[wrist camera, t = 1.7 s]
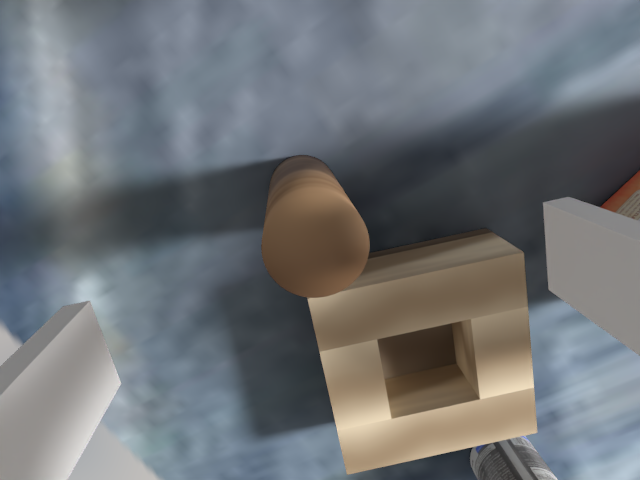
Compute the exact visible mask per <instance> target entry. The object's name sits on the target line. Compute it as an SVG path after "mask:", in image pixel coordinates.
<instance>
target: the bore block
mask: <svg viewBox="0 0 640 480" xmlns="http://www.w3.org/2000/svg"><path fill="white" fill-rule="evenodd" d="M307 299H308V304H309V308H310V312H311V317H312V321H313V326H314V330H315V335H316V339H317V343H318V348H319V352H320V357H321V361H322V366H323V370H324V374H325V379H326V383H327V388H328V392H329V397H330V401H331V405H332V410H333V414H334V419H335V423H336V428H337V432H338V436H339V441H340V445H341V450H342V454H343V459H344V463H345V467H346V472H347V475H348V474H353V473H357V472H362V471H367V470H371V469H376V468H380V467H385V466H389V465H394V464H398V463H403V462H407V461H412V460H416V459H421V458H425V457H430V456H434V455H439V454H443V453H448V452H452V451H457V450H462V449H466V448H471V447H475V446H480V445H484V444H489V443H493V442H498V441H502V440H507V439H511V438H516V437H520V436H525V435H529V434H534V433H537V422H536V409H535V395H534V382H533V368H532V355H531V342H530V328H529V315H528V301H527V288H526V274H525V261H524V252H523V251H521V250H520V249H518V248H516V247H515V246H513V245H512V244H510V243H509V242H507V241H506V240H504V239H502V238H501V237H499V236H498V235H496V234H495V233H493V232H492V231H490V230H489V229H487V228H484V229H480V230H475V231H470V232H466V233H461V234H456V235H452V236H447V237H442V238H438V239H433V240H428V241H424V242H419V243H414V244H410V245H405V246H400V247H396V248H391V249H386V250H382V251H377V252H372V253H369V256H368V259H367V263H366V265H365V267H364V269H363V271H362V272H361V274H360V275H359V277H358V278H357V279H356V280H355V281H354V282H353V283H352V284H351V285H350V286H348V287H347V288H346V289H344V290H342V291H340V292H338V293H336V294H334V295H330V296H327V297H320V298H309V297H307Z"/></svg>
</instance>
